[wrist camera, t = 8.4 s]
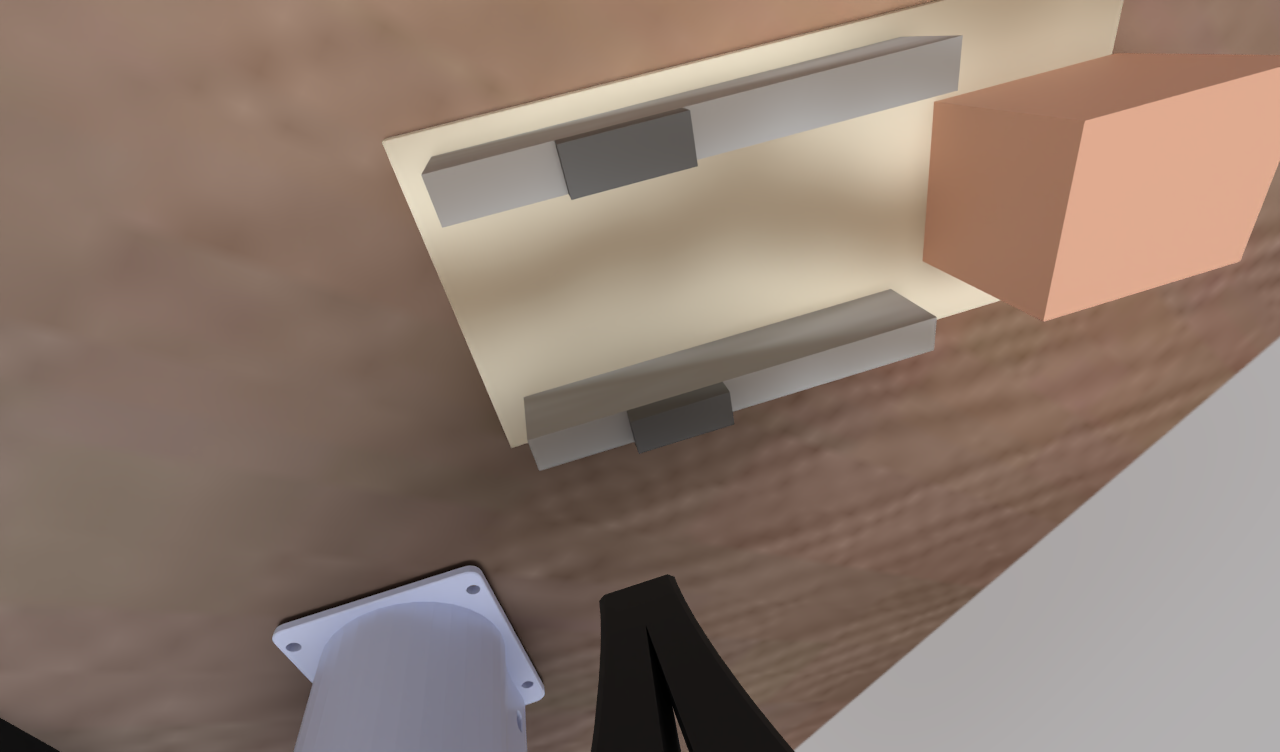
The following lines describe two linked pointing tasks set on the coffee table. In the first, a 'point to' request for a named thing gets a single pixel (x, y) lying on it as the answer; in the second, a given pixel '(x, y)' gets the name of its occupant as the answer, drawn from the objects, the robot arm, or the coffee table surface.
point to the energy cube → (20, 740)
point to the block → (1102, 177)
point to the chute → (714, 221)
